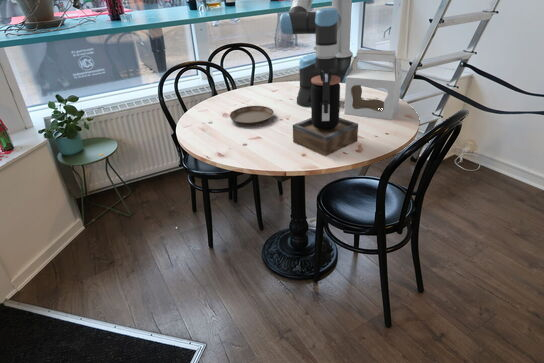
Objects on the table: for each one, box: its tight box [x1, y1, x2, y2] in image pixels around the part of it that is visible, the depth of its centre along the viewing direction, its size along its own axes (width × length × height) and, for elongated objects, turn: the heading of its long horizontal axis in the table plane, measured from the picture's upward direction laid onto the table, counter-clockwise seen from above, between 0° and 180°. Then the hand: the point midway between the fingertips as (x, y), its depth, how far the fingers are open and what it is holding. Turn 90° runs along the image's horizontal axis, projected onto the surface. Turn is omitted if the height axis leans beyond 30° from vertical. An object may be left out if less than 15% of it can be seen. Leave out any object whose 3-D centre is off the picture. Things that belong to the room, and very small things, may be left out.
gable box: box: [343, 49, 403, 121], centre depth 168 cm, size 22×13×28 cm, turn 62°
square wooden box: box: [292, 117, 359, 157], centre depth 148 cm, size 18×18×8 cm
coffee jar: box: [310, 75, 341, 129], centre depth 142 cm, size 11×11×18 cm
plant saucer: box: [229, 105, 275, 127], centre depth 176 cm, size 21×21×3 cm
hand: (325, 115), depth 145 cm, fingers closed on coffee jar, 11 cm apart
